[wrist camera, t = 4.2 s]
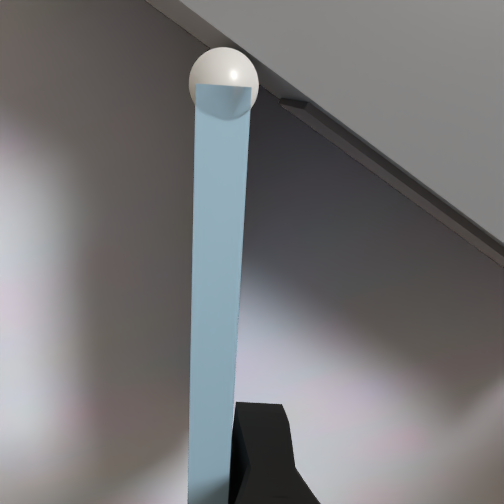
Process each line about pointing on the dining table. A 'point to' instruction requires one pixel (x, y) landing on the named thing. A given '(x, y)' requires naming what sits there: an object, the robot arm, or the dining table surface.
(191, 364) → the side door
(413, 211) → the dining table surface
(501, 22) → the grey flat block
